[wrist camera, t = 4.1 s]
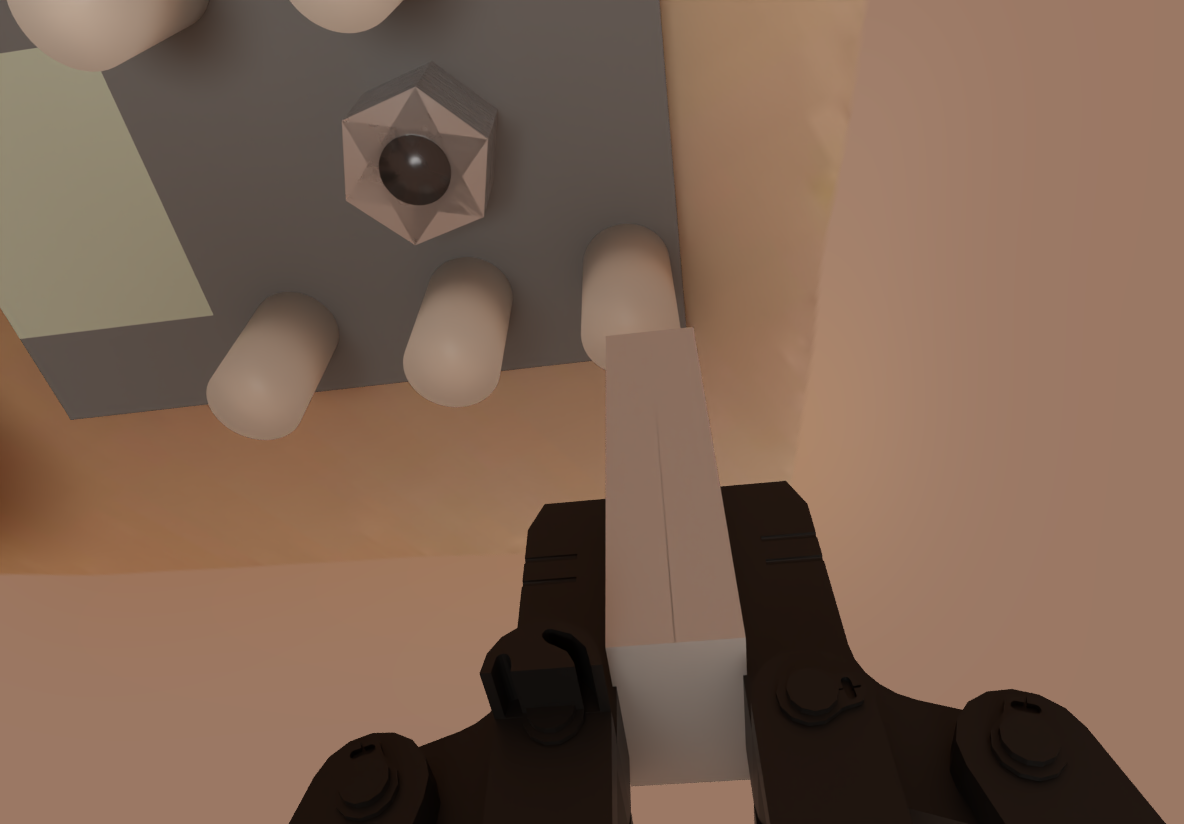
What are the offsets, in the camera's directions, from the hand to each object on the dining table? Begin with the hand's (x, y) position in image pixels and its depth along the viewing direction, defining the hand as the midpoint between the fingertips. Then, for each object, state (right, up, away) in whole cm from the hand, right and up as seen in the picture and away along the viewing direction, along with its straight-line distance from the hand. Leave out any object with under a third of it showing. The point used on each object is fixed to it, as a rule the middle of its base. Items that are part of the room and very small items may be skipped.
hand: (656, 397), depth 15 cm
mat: (-11, +9, +15) cm, 21 cm away
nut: (-7, +9, +13) cm, 17 cm away
